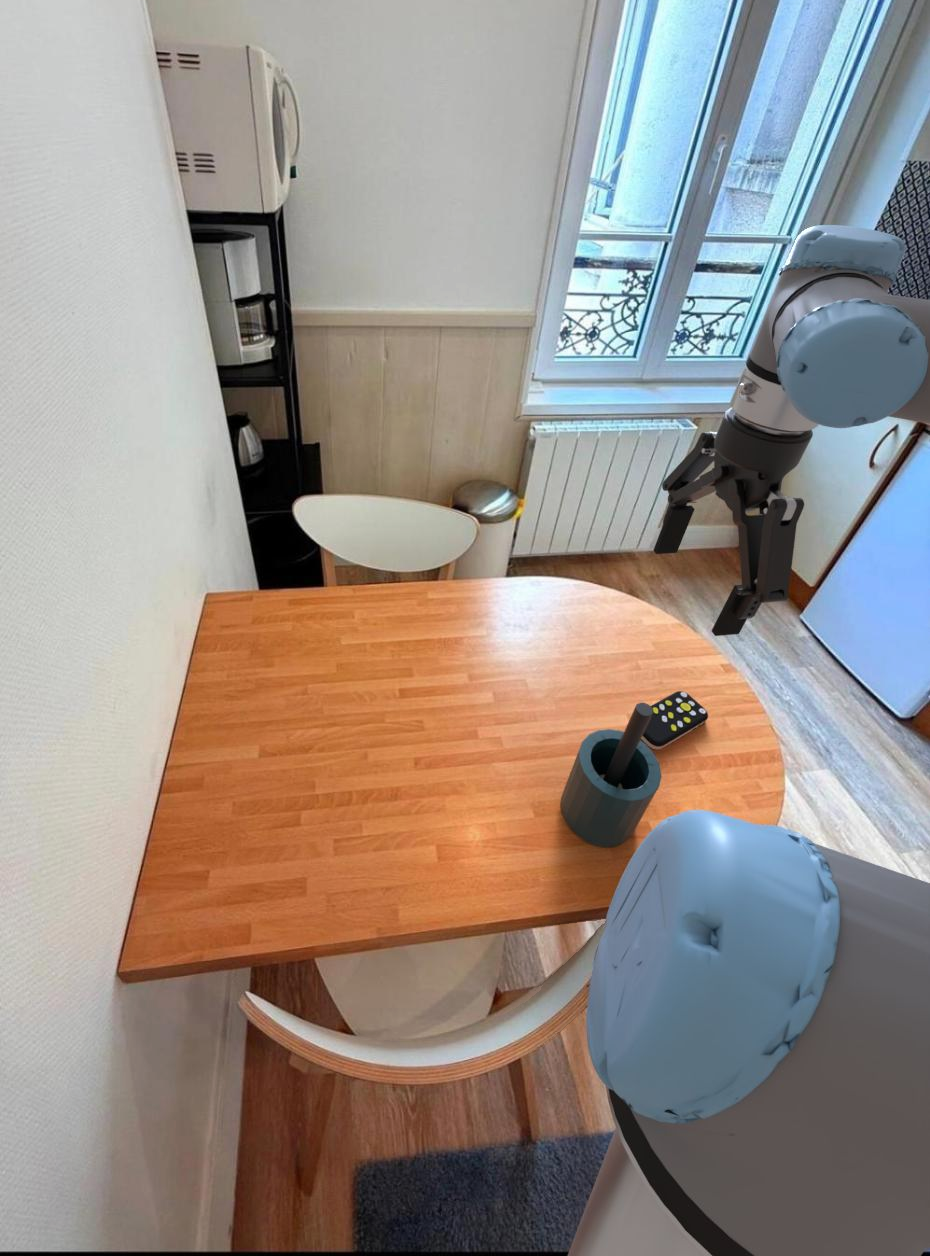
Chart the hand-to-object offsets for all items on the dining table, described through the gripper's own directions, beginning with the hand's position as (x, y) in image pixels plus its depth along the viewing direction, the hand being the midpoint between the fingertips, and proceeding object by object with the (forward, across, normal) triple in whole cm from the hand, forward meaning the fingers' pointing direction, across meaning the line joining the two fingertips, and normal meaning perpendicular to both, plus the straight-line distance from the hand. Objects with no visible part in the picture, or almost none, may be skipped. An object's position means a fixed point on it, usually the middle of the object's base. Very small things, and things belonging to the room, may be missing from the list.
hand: (692, 589), depth 69 cm
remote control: (+36, -6, +12) cm, 38 cm away
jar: (+35, +7, -6) cm, 36 cm away
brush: (+34, +7, -6) cm, 35 cm away
